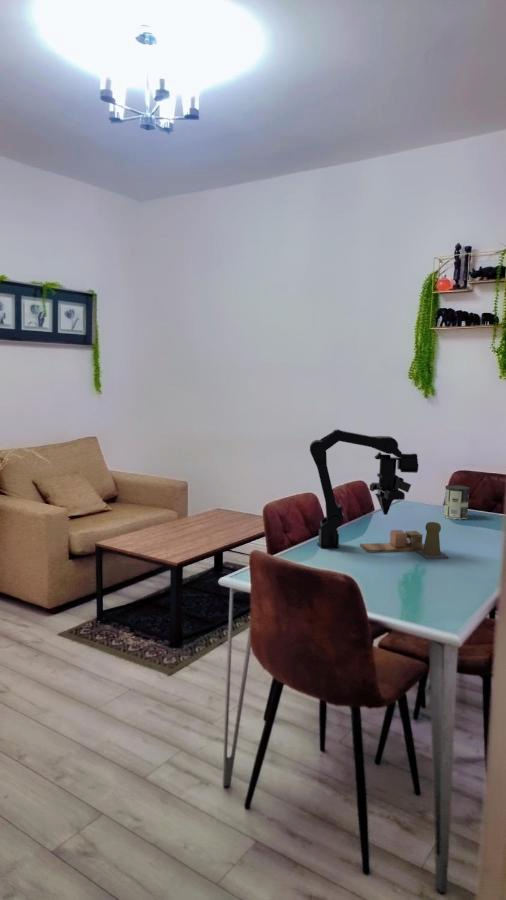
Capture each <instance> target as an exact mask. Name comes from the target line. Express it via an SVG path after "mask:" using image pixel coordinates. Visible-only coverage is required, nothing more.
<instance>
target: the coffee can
mask: <svg viewBox="0 0 506 900" xmlns="http://www.w3.org/2000/svg"><path fill="white" fill-rule="evenodd" d="M444 487H445V494H444V509H443V510H444V511H443V513H444V514H443V517H444V518H445V517H446V519H448V518H450V519H449V520H454V519H459V520H458V521H462V520H461V519H465V520H467V519H468V514H469V513H468V512H469V511H468V510H469V500H470V499H469V496H470V487H468V486H465V485H460V484H459V485H458V484H448V485H445V486H444Z"/></svg>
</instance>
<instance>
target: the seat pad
mask: <svg viewBox="0 0 506 900" xmlns="http://www.w3.org/2000/svg"><path fill="white" fill-rule="evenodd" d="M416 553H417V554H418V555H420V557H423V558H424V559H426V560H442V559H443V560H445V559H449V555H447V554H445V553H444V552H442V551H441V550H440V555H438V556H431V555H426V554H424V553H423V550H417V552H416Z"/></svg>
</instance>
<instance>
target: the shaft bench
mask: <svg viewBox="0 0 506 900" xmlns="http://www.w3.org/2000/svg"><path fill="white" fill-rule="evenodd" d="M405 533H406V534H407V535H406V538H411V542H410V545H406V547H394V546H393V545H391V544H390V542H389V543H388V542H386V543H385V542H380V543H376V542H375V543H360V544H359V547H360V548H361V547H362V548H361V549H363V550H364V551H365V552H366V553H369V554H371V553H373V554H374V553H377V554H378V553H406V552H408V553H409V552H410V553H412V552H413V553H414V552H415V553H417V550H423V549H424V544H425V543H424V542H423V535H424V534H423V533H420V532H419V531H417V530H406V531H405Z"/></svg>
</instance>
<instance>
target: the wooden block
mask: <svg viewBox="0 0 506 900" xmlns="http://www.w3.org/2000/svg"><path fill="white" fill-rule="evenodd" d="M406 535H407V534H406V531H403V530H402V529H392V530H390V537H389V538H390V540H389V543H390V544H391V545H393V546H394V547H406V545H410V542H411V538H406Z"/></svg>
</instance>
